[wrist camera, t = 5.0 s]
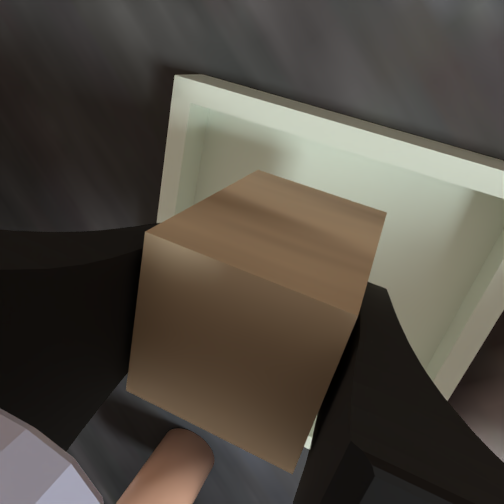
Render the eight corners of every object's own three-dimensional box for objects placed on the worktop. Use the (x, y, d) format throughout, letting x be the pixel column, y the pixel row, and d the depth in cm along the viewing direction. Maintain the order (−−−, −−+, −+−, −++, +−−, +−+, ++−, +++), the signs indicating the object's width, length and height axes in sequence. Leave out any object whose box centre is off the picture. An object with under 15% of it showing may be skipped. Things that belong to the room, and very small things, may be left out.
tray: (556, 175, 14) (576, 192, 12) (396, 452, 21) (392, 490, 19) (202, 74, 17) (174, 74, 16) (161, 343, 24) (139, 366, 22)
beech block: (342, 324, 14) (292, 474, 9) (231, 279, 15) (126, 390, 9) (387, 212, 12) (358, 315, 7) (257, 169, 13) (145, 231, 8)
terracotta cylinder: (219, 445, 26) (166, 539, 21) (209, 481, 27) (158, 576, 22) (167, 419, 27) (105, 503, 21) (161, 455, 28) (101, 541, 23)
